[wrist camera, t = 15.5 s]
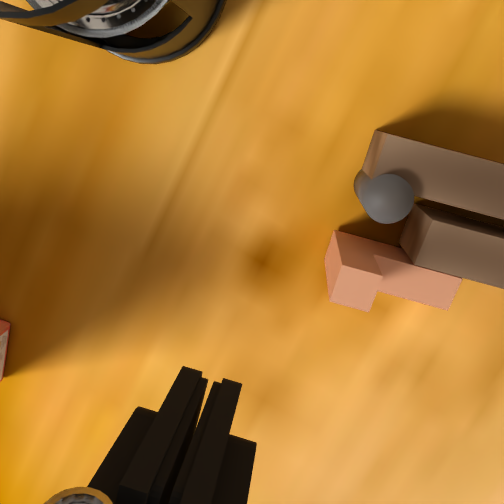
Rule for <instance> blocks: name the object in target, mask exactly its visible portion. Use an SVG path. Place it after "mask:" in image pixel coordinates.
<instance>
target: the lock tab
mask: <svg viewBox="0 0 504 504" xmlns="http://www.w3.org/2000/svg"><path fill="white" fill-rule="evenodd" d="M324 260H325V268H326V276H327V285H328V293H329V301H330V302H334V303H337V304H341V305H344V306H348V307H352V308H355V309H359V310H362V311H366V312H369V311H370V308H371V306H372V303H373V301H374V298H375V296H376V293H377V291H379V292H383V293H386V294H390V295H394V296H397V297H401V298H404V299H408V300H412V301H415V302H419V303H422V304H426V305H430V306H433V307H437V308H440V309H444V310H448V309H449V307H450V305H451V303H452V301H453V298H454V296H455V294H456V292H457V290H458V288H459V285H460V283H461V281H462V278H461V277H458V276H454V275H451V274H447V273H443V272H440V271H436V270H432V269H429V268H425V267H421V266H417V265H414V263H413V262H412V261H411V259H410V258H409V256H408V255H407V253H406V252H405V250H404V249H403V248H399V247H396V246H392V245H388V244H385V243H381V242H377V241H374V240H370V239H366V238H363V237H359V236H355V235H352V234H348V233H344V232H341V231H337V230H334V232H333V235H332V238H331V241H330V244H329V247H328V250H327V253H326V256H325V259H324Z"/></svg>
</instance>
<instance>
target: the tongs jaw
mask: <svg viewBox="0 0 504 504" xmlns="http://www.w3.org/2000/svg"><path fill="white" fill-rule="evenodd" d="M399 243H400V245H401V246H402V248H403V249H404V250H405V252H406V253H407V255H408V256H409V258H410V259H411V261H412V262H413V263H414V265H417V266H421V267H425V268H429V269H432V270H436V271H440V272H443V273H447V274H451V275H454V276H458V277H462V278H465V279H469V280H473V281H476V282H480V283H484V284H487V285H491V286H495V287H499V288H502V289H504V227H501V226H498V225H494V224H490V223H486V222H483V221H479V220H475V219H471V218H468V217H464V216H460V215H456V214H453V213H449V212H445V211H441V210H438V209H434V208H430V207H426V206H423V205H419V204H415V203H413V207H412V209H411V211H410V214H409V216H408V219H407V221H406V224H405V226H404V229H403V232H402V234H401V237H400V239H399Z"/></svg>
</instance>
